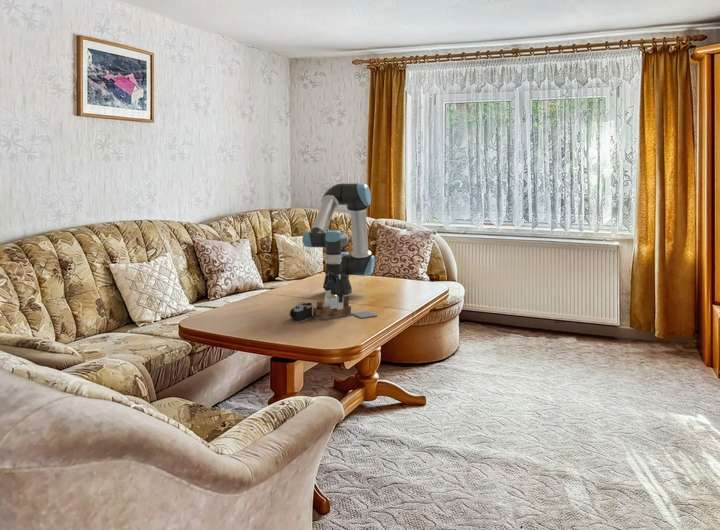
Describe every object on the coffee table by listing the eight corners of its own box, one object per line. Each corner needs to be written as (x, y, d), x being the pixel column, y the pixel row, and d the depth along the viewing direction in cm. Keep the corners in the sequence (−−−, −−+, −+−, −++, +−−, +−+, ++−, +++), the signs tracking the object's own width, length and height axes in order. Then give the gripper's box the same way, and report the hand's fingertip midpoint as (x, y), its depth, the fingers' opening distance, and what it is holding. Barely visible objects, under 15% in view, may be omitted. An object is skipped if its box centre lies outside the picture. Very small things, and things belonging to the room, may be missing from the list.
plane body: (316, 319, 272) (316, 299, 271) (312, 316, 277) (311, 297, 276) (351, 315, 281) (351, 296, 279) (346, 312, 286) (346, 294, 284)
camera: (300, 315, 281) (299, 297, 279) (314, 317, 277) (313, 299, 275) (285, 323, 270) (284, 305, 268) (299, 325, 266) (298, 306, 264)
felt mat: (351, 314, 283) (351, 313, 283) (367, 312, 287) (367, 311, 287) (360, 318, 274) (360, 317, 274) (377, 316, 278) (377, 315, 278)
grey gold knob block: (324, 306, 280) (324, 294, 279) (337, 304, 283) (337, 293, 282) (330, 308, 274) (329, 297, 273) (343, 307, 277) (343, 295, 277)
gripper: (316, 260, 285) (316, 301, 288) (337, 267, 263) (337, 312, 266) (330, 259, 288) (330, 300, 291) (352, 265, 266) (352, 310, 269)
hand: (333, 306), depth 279 cm, fingers open, 13 cm apart
